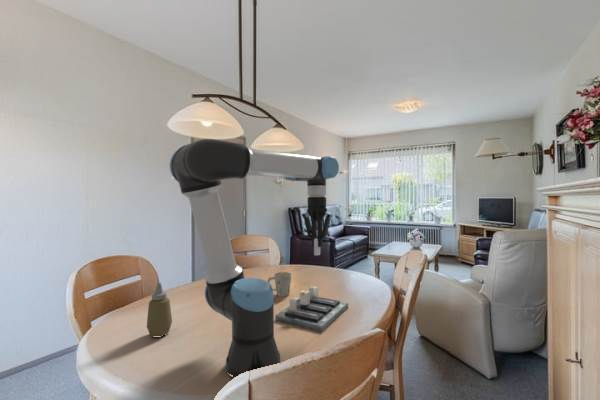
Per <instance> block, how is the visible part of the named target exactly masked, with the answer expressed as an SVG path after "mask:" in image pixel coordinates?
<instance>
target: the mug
mask: <svg viewBox="0 0 600 400" xmlns="http://www.w3.org/2000/svg"><path fill="white" fill-rule="evenodd" d="M272 280H274V283H275V288H273V292H274V291H276V296H277V297H288V296H289V295H290V291H291V290H290V289H291V282H292V273H291V272H287V271H280V272H276V273H274V275H273V276H270V277H269V278H268V279H267V280H266V281H267V282H268V283H270V282H271V281H272Z"/></svg>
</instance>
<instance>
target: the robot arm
mask: <svg viewBox="0 0 600 400" xmlns="http://www.w3.org/2000/svg"><path fill="white" fill-rule="evenodd" d="M169 160H170V161H169V170H170V174H171V176H172V178H174V179H175V181H176V182H178V184H179V189H180V192H181V195H183V196H185V197H186V198H188V201H189V205H190V208H191V212H192V214H193V215H192V216H193V219H194V223H195V227H196V230H197V234H198V237H199V242H200V245H201V248H202V253H203V256H204V260H205V264H206V268H207V271H208V273H207V275H206V277H205V279H204V280H205V284H206V286H205V289H204V298H205V301H206V303H207V305H208V306H209V307H210V309H212V310H213V311H214V312H216V313H218V314H220V315H222V316H223V317H224V318H227V320H230V322H231V343H230V346H229V349H228V353H227V356H226V359H225V371H226V370H227V372H228V373H229V374H231V375H233V378H234V377H236V376H238V375H239V374H241V373H244V372H246V371H250V370H253V369H257V368H261V367H265V366H269V365H273V364H277V363H280V364H281V354H280V351H279V350H278V346H277V342H276V340H275V335H274V334H275V333H274V332H275V331H274V329H275V325H274V324H275V323H274V321H275V319H274V318H275V316H274V313H275V312H274V311H275V310H274V309H275V307H274V306H275V305H274V301H275V297H274V296H275V295H274V291H273V289H274V288H273V286H272V284H271V283H270V282H269V283H268V282H267V280H265V279H262V278H255V277H245V274H244V270H243V266H241V265H239V264H237V263H236V258H235V254H234V250H233V246H232V242H231V238H230V234H229V230H228V225H227V222H226V217H225V215H224V209H223V206H222V203H221V199H220V194H219V190H220V189H221V187H222V181H223V180H224V181H225V180H233V179H240V180H241V179H245V178H246V177H247V176H255V177H256V176H257V177H275V178H278V177H279V178H284V179H285V180H286V181H291V182H306V183H307V192H306V193H307V196H308V197H307V209H306V212H304V213H301V216H302V218H303V221H304V224H305V229H306V234H307V237H309V238H311V242H312V243H311V245H312V247H313V256H320V255H321V248H322V247H323V239H324V238H326V237H327V236H328V233H329V232H328V231H329V227H330V222H331V219H332V217H333V213H330V212H328V208H327V197H326V196H327V180H329V179H333V178H336V177H337V175H338V174H339V169H340V165H339V162H338V159H337V158H335V157H334V156H329V155H328V156H327V155H325V156H314V155H313V156H312V155H303V154H297V153H288V152H282V151H274V150H273V151H272V150H264V149H256V148H249V147H248V145H246V144H245V143H240V142H239V143H238V142H233V141H227V140H221V139H213V138H212V139H211V138H203V139H199V140H196V141H194V142H190V143H188V144H185V145H182V146H180V147H179V148H178V149H177V150H175V152H174V153H173V154H172V156H171V158H170V159H169ZM324 217H325V219H324ZM323 222H324V223H323ZM227 372H226V373H227ZM233 378H232V379H233Z"/></svg>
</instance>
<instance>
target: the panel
mask: <svg viewBox="0 0 600 400" xmlns="http://www.w3.org/2000/svg"><path fill="white" fill-rule="evenodd" d="M308 291H310V303H309V304H308V305H302V304H300V297H297V296H292V297H290V298H289V306H288V307H286V308H285V309H283V310H282V311H280V312H279V313H277V314H275V316H274V318H275V319H274V321H276V322H281V323H285V324H289V325H293V326H297V327H300V328H305V329H307V330H313V331H316V332H317V331H318V332H323V331H325V330H326V329H327V328H328V327H329V326H330V325H331V324H332V323H333V322H335V321H336V319H338V318H339V317H340V316H341V315H342V314H343V313H345V311H346V310H347V309H348V308H349V302H345V301H341V300H337V299H331V298H325V297H321V296H319V286H316V285H312V286H309V289H308Z"/></svg>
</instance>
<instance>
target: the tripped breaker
mask: <svg viewBox="0 0 600 400" xmlns="http://www.w3.org/2000/svg"><path fill="white" fill-rule="evenodd" d="M299 298H300V304H302V305H308V304H309V303H310V291H309V290H305V289H303V290H300V292H299Z"/></svg>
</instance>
